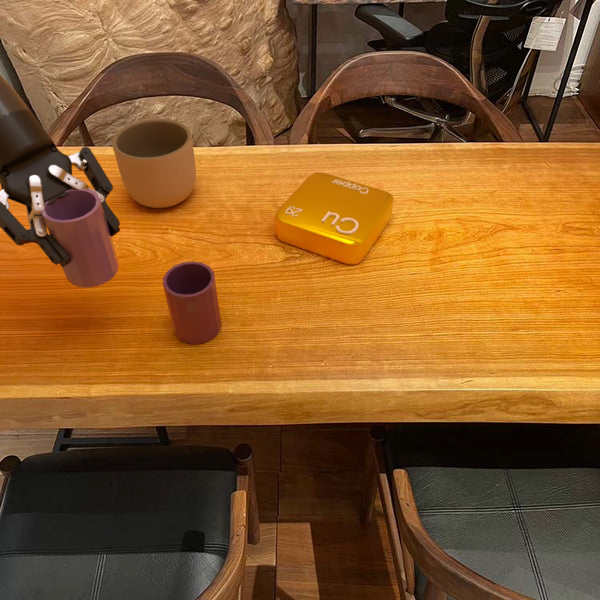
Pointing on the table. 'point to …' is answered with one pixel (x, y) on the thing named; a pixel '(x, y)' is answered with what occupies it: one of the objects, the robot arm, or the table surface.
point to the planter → (156, 161)
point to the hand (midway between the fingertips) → (92, 248)
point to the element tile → (334, 217)
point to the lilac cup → (82, 237)
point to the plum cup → (192, 302)
